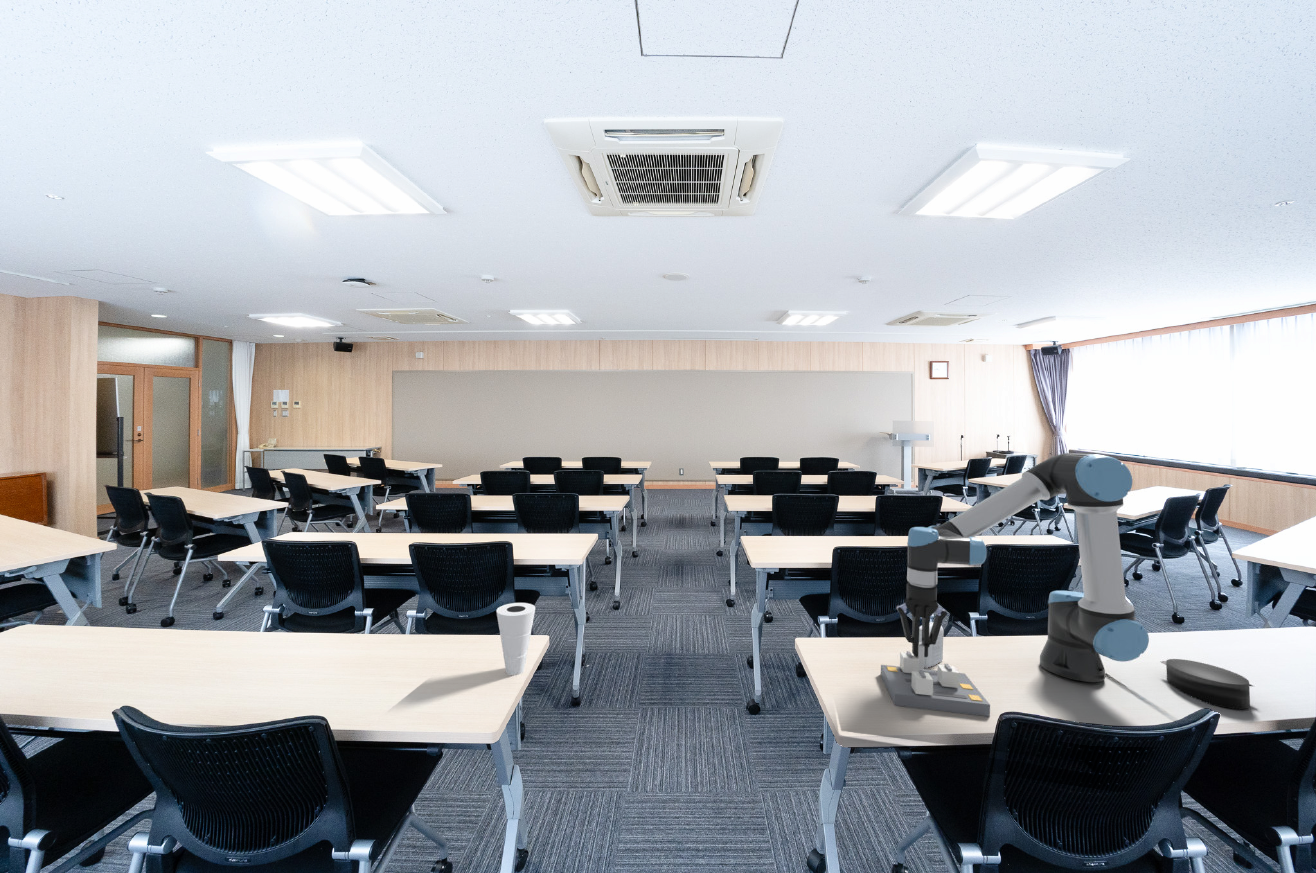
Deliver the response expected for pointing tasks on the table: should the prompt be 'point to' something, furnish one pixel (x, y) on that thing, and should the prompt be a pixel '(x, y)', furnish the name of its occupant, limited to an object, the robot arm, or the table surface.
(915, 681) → the slider
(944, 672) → the slider mid
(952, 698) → the console
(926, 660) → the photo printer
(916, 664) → the slider
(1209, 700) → the dark grey oval block
